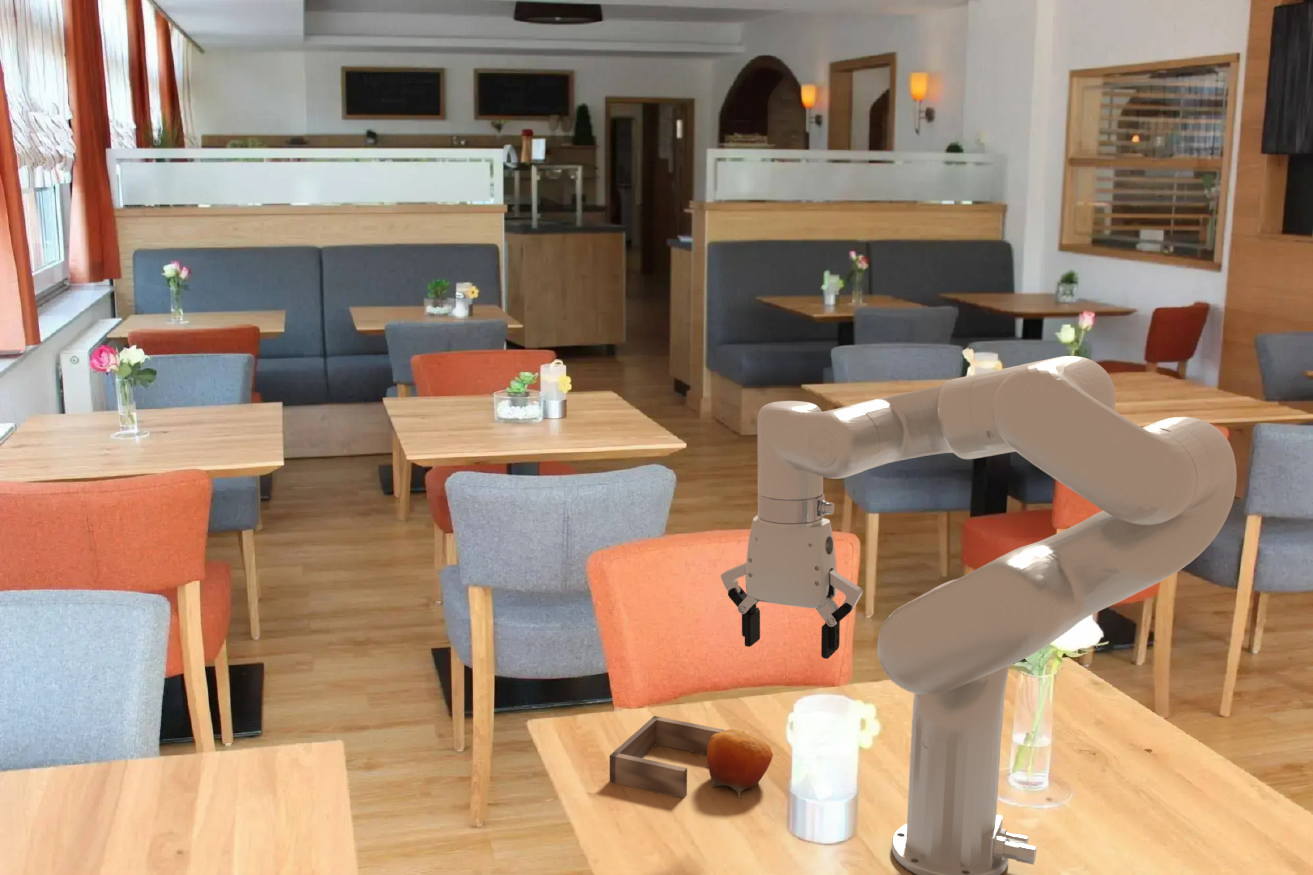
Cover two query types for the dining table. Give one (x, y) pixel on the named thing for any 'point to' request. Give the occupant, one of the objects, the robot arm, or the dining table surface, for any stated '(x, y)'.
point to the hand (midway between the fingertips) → (790, 649)
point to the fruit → (737, 759)
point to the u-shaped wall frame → (653, 774)
